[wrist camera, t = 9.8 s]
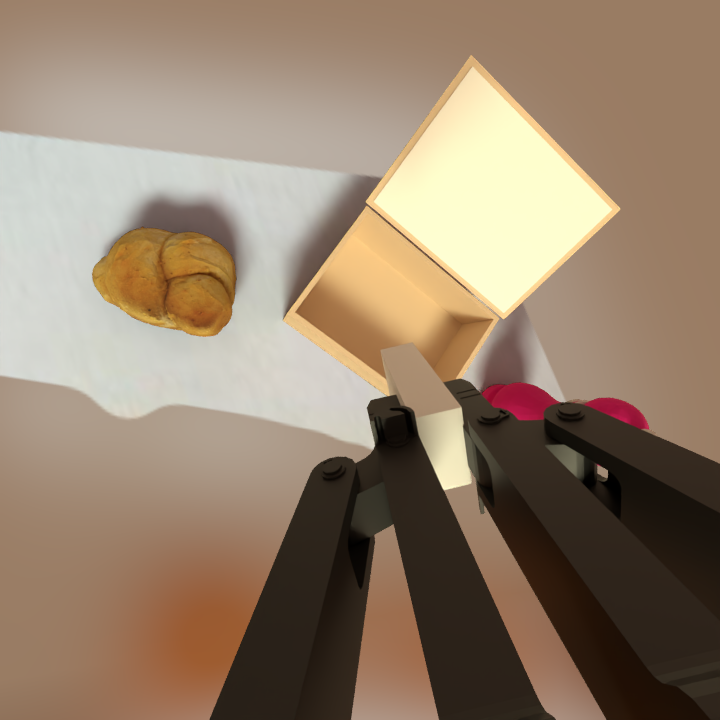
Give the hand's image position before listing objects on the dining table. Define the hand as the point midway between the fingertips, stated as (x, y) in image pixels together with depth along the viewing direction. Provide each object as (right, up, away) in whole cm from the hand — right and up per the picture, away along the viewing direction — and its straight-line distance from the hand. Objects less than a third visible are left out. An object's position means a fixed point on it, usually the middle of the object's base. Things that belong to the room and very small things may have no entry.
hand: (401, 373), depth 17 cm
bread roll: (-21, +8, +21) cm, 31 cm away
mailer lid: (+10, +15, +17) cm, 25 cm away
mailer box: (0, +5, +27) cm, 27 cm away
